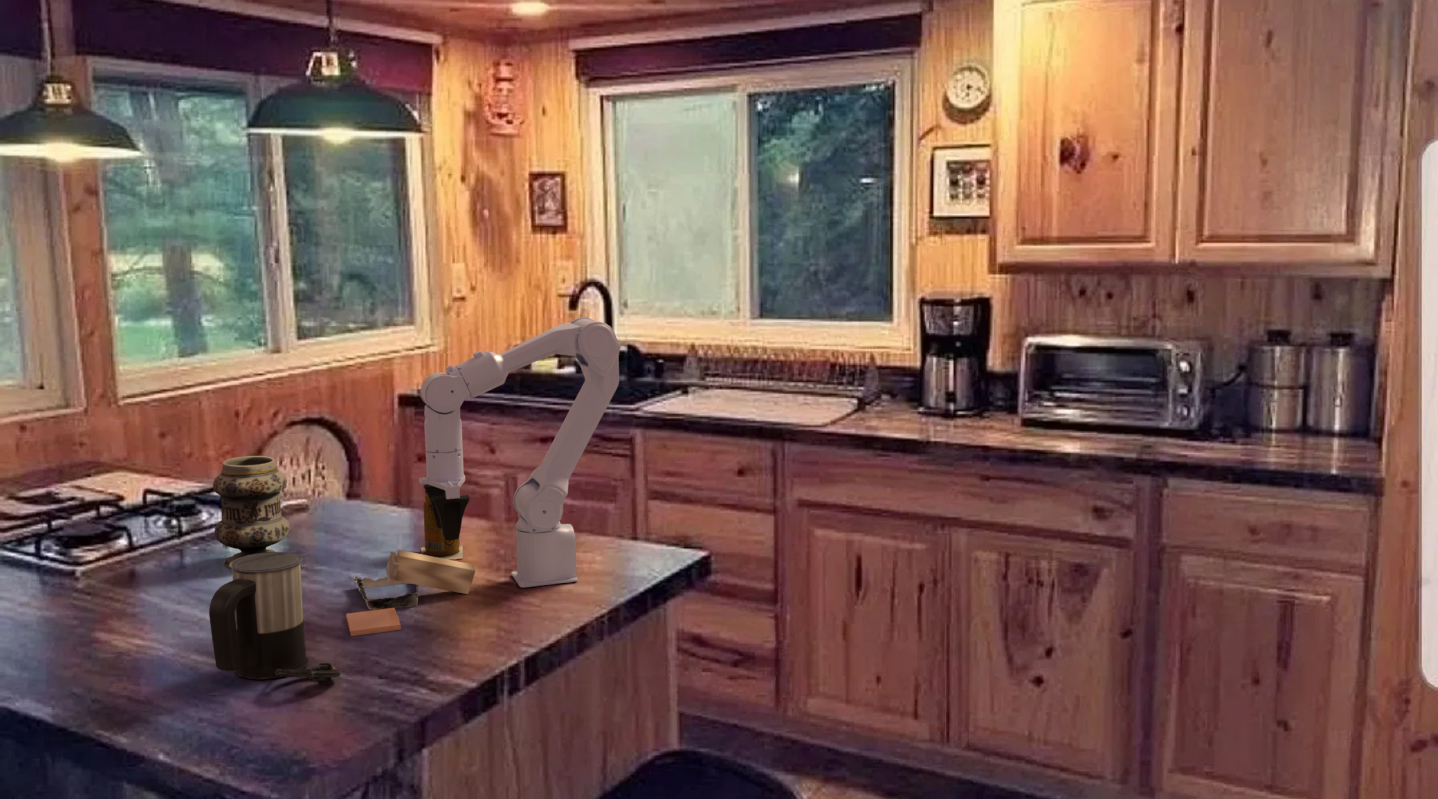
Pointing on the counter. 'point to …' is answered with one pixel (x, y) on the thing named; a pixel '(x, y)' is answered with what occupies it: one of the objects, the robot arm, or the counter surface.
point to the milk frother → (263, 620)
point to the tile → (373, 621)
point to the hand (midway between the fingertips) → (447, 533)
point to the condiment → (438, 537)
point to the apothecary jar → (250, 505)
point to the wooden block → (430, 571)
